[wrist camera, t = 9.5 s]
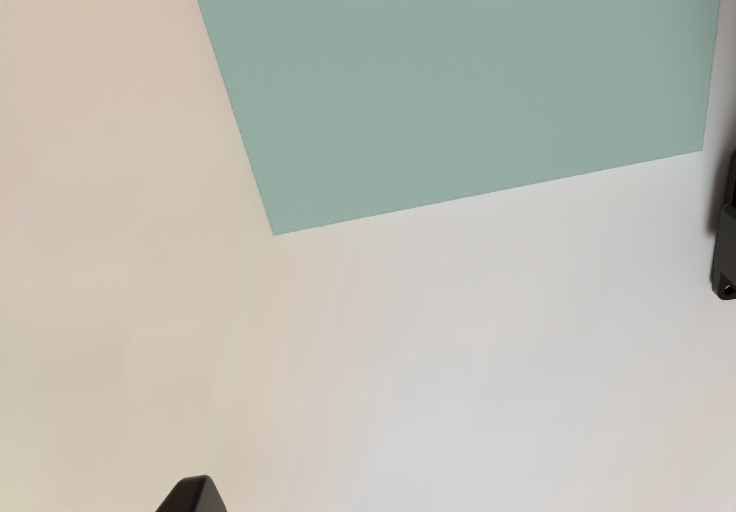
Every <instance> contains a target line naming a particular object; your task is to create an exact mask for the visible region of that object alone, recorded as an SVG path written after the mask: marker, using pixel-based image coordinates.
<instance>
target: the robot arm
mask: <svg viewBox="0 0 736 512" xmlns="http://www.w3.org/2000/svg"><path fill="white" fill-rule="evenodd" d="M713 264H714V266H715V268H714V275H713V281H712V291H713V292H714V293H715V294H716V295H717V296H718V297H719V298H720V299H722V300H732V299H736V151H735V152H734V154H733V155H732V158H731V162H730V169H729V175H728V182H727V188H726V195H725V202H724V207H723V209H722V210H721V215H720V222H719V229H718V235H717V242H716V249H715V256H714V262H713ZM729 285H730V286H729ZM727 286H729V287H728V288H726V287H727ZM725 288H726V289H725ZM156 512H227V510H226V507H225V505H224V503H223V501H222V498H221V496H220V494H219V492H218V490H217V488H216V486H215V484H214V482H213V480H212V479H211V477H209V476H208V475H200V476H194V477H187V478H183V479H182V480H180V481H179V482H178V483H177V484H176V485H175V487H174V488H173V489H172V491H171V492H170V493H169V494H168V496H167V497H166V498H165V500H164V501H163V502H162V504H161V505H160V506H159V508H158V509H157V510H156Z"/></svg>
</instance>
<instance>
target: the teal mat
mask: <svg viewBox="0 0 736 512" xmlns="http://www.w3.org/2000/svg"><path fill="white" fill-rule="evenodd" d="M197 1H198V4H199V7H200V10H201V13H202V16H203V19H204V22H205V25H206V28H207V31H208V35H209V38H210V41H211V44H212V47H213V50H214V53H215V56H216V59H217V62H218V65H219V69H220V72H221V75H222V78H223V81H224V84H225V87H226V90H227V93H228V96H229V99H230V103H231V106H232V109H233V112H234V115H235V118H236V121H237V124H238V127H239V130H240V134H241V137H242V140H243V143H244V146H245V149H246V152H247V155H248V158H249V161H250V164H251V168H252V171H253V174H254V177H255V180H256V183H257V186H258V189H259V192H260V195H261V198H262V202H263V205H264V208H265V211H266V214H267V217H268V220H269V223H270V226H271V229H272V232H273V236H274V235H279V234H284V233H289V232H294V231H299V230H304V229H309V228H314V227H319V226H324V225H329V224H334V223H339V222H344V221H349V220H354V219H359V218H364V217H369V216H374V215H379V214H384V213H390V212H395V211H400V210H405V209H410V208H415V207H420V206H425V205H430V204H435V203H440V202H445V201H450V200H455V199H460V198H465V197H470V196H475V195H480V194H485V193H490V192H495V191H500V190H505V189H510V188H515V187H520V186H525V185H530V184H535V183H540V182H545V181H550V180H555V179H560V178H566V177H571V176H576V175H581V174H586V173H591V172H596V171H601V170H606V169H611V168H616V167H621V166H626V165H631V164H636V163H641V162H646V161H651V160H656V159H661V158H666V157H671V156H676V155H681V154H686V153H691V152H696V151H701V150H702V146H703V137H704V129H705V121H706V112H707V104H708V96H709V88H710V79H711V71H712V63H713V55H714V46H715V38H716V30H717V22H718V13H719V5H720V0H197Z"/></svg>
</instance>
